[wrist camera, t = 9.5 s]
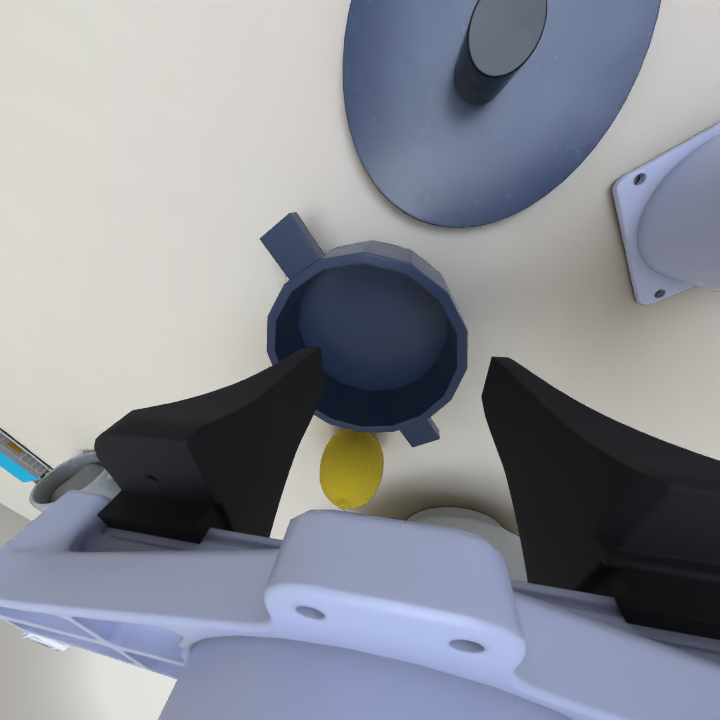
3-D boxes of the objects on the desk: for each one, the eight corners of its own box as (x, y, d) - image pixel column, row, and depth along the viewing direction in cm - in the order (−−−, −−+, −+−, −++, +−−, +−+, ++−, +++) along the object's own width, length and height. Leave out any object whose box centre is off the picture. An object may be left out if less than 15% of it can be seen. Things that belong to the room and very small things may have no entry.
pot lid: (607, -337, 9) (782, -811, 5) (667, 120, 13) (777, 86, 9) (296, 35, 14) (249, -31, 10) (418, 267, 19) (420, 286, 15)
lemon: (364, 457, 29) (350, 535, 23) (322, 430, 28) (295, 503, 21) (398, 432, 27) (394, 512, 20) (354, 400, 25) (333, 474, 19)
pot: (381, 154, 16) (370, 138, 12) (495, 383, 22) (514, 424, 18) (238, 271, 21) (196, 289, 17) (365, 430, 27) (357, 471, 23)
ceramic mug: (108, 485, 42) (53, 538, 35) (77, 448, 38) (8, 500, 31) (169, 491, 40) (123, 548, 34) (143, 453, 36) (85, 510, 30)
